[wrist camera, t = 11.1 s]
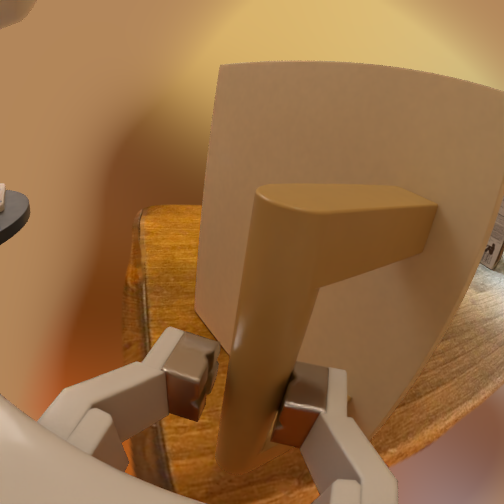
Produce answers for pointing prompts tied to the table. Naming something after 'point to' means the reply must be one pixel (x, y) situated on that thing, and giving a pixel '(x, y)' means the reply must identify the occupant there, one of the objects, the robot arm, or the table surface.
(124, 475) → the robot arm
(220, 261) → the cupboard door
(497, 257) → the coffee box
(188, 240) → the table surface
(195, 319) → the table surface
